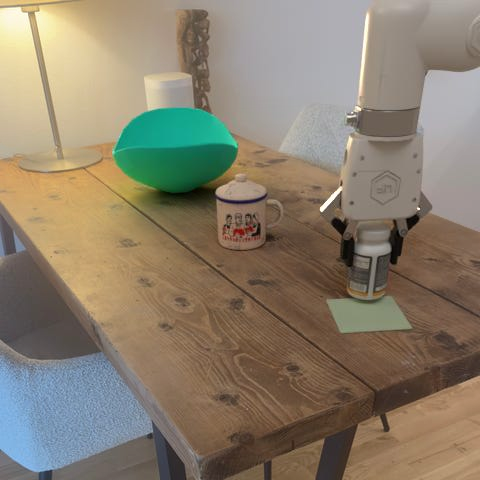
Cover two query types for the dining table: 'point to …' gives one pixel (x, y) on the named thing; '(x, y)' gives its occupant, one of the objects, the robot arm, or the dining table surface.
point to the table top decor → (175, 149)
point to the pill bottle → (370, 261)
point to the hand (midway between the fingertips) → (369, 261)
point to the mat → (367, 315)
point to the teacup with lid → (243, 214)
